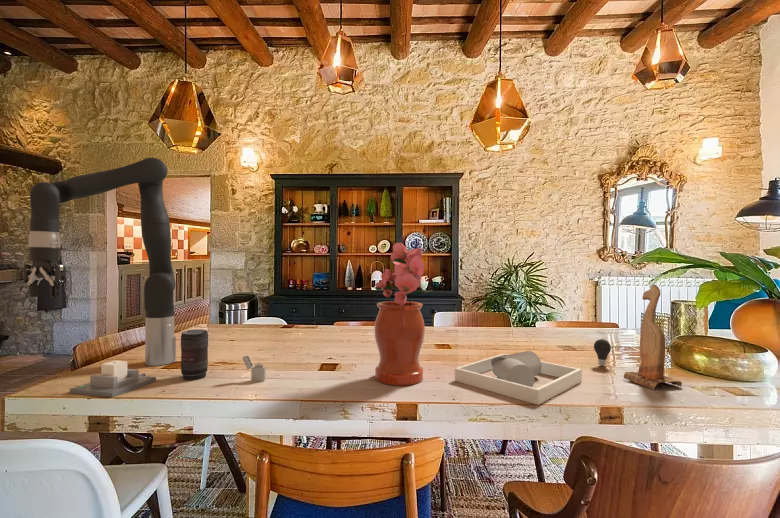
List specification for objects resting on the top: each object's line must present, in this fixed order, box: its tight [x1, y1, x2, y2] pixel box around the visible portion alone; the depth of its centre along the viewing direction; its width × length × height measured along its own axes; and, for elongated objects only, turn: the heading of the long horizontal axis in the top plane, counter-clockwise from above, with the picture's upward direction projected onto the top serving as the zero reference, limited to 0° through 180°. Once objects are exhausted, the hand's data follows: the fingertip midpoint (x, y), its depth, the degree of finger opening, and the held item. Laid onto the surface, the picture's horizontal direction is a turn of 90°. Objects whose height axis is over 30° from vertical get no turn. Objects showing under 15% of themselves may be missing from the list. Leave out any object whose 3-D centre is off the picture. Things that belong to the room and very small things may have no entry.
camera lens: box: [180, 329, 209, 381], centre depth 126 cm, size 8×8×15 cm
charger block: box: [100, 360, 128, 381], centre depth 117 cm, size 4×4×6 cm
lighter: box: [242, 354, 267, 383], centre depth 124 cm, size 7×2×8 cm, turn 86°
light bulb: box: [593, 338, 612, 367], centre depth 144 cm, size 6×6×10 cm
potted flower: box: [373, 242, 434, 387], centre depth 128 cm, size 19×25×45 cm
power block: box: [69, 368, 157, 398], centre depth 118 cm, size 18×15×4 cm
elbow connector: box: [491, 350, 542, 387], centre depth 125 cm, size 18×11×20 cm
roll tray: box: [454, 353, 583, 406], centre depth 125 cm, size 30×28×4 cm
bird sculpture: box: [623, 284, 683, 390], centre depth 124 cm, size 11×12×32 cm
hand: (44, 297), depth 123 cm, fingers open, 8 cm apart
